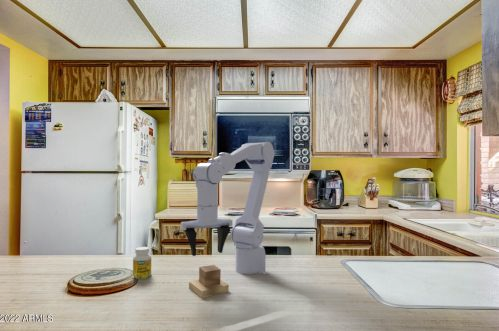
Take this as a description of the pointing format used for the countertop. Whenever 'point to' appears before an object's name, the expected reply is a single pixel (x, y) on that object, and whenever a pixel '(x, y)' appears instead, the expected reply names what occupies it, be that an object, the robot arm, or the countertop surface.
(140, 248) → the supplement bottle
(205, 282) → the block
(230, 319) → the countertop surface
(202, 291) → the tile top
